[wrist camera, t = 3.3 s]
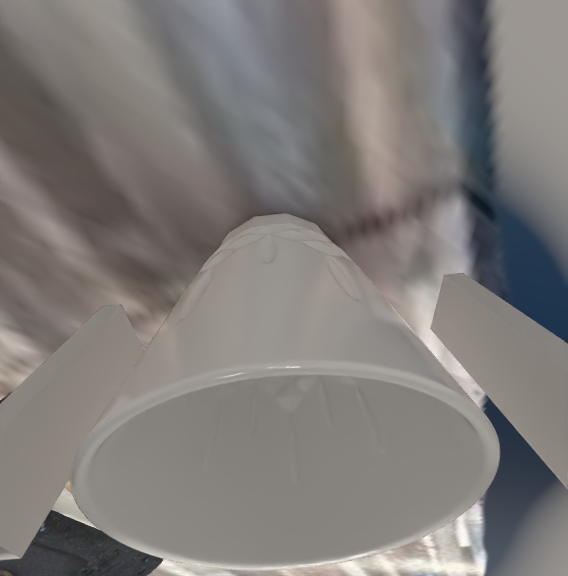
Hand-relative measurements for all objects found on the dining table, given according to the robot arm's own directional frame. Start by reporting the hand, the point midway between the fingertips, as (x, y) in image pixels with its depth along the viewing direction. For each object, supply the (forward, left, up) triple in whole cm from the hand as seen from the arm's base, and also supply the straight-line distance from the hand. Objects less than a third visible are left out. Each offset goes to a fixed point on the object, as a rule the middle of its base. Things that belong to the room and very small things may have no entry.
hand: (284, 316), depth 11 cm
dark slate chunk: (+34, -30, -4) cm, 45 cm away
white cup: (0, 0, -4) cm, 4 cm away
